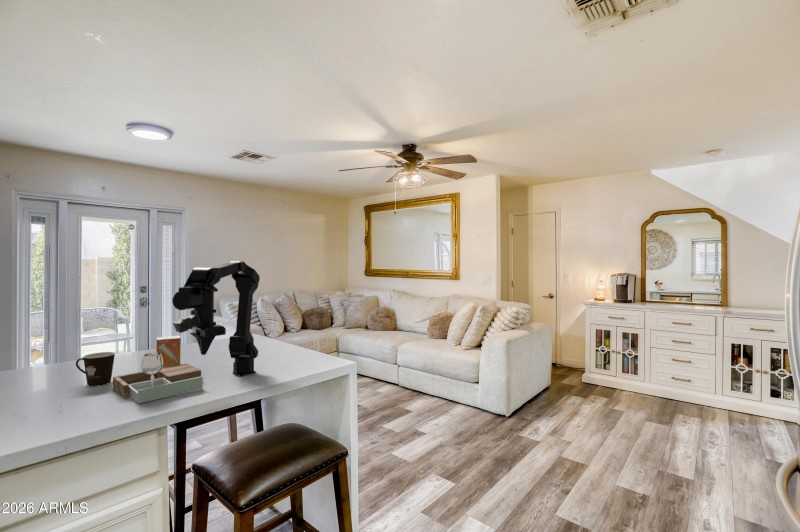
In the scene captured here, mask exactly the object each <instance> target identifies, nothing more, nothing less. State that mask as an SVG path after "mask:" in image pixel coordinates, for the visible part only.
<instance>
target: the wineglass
mask: <svg viewBox="0 0 800 532" xmlns="http://www.w3.org/2000/svg"><path fill="white" fill-rule="evenodd" d="M162 367H163V358H162V355H161V353H156V352H149V353H145V354H143V358H142V359H141V370H142V371H143V372H144V373H146V374H151V383H152V384H151V387H153V380H154V375H153V374H156V373H158V372H159V371H161V369H162ZM142 371H141V372H142Z"/></svg>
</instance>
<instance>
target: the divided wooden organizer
mask: <svg viewBox="0 0 800 532" xmlns="http://www.w3.org/2000/svg"><path fill="white" fill-rule="evenodd" d="M153 375H154V379H159V378H165V379H167V380H168V381H170V382H177V381H182V380H186V379H191V378H196V377H200V376H202V370H201V369H200V368H197V367H195V366H194V365H191V364H189V363H183V364H181V363H180V365H175V366H170V367H164V368H162V369H161V371H159V372H158V373H156V374H153ZM149 380H151V374H146V373H144V372H143V371H139V372H132V373H127V374H122V375H117V376H115V375H114V376H112V389H113V390H114V389H115V390H116V391H117V392H118V393H119V394H120V395H119V396H120V397H122V399H127V398H126V397H128V398H129V397H130V396H129V384H134V383H139V382H144V381H149ZM115 390H114V391H115ZM116 391H115V392H116ZM117 392H116V393H117ZM118 393H117V394H118Z"/></svg>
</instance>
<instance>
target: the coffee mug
mask: <svg viewBox="0 0 800 532" xmlns="http://www.w3.org/2000/svg"><path fill="white" fill-rule="evenodd" d="M115 353H116V352H113V351H101V352H100V351H99V352H94V353H89V354H85V355H83V356H82V358H78V359H77V360H76V361H75V367H76V368H77V369H78V370H79V371H80V372H82V373H83V374H84V375H85V379H86V385H89V386H88V387H98V386H97V385H101V386H104V385H103V384H105V385H108V384H110V383H111V382H112V378H113V369H114V364H115V363H114V362H115V356H116V354H115ZM80 361H83V365H84V366H83V367H84V369H82V368H81V367H80V365H79V362H80ZM107 383H108V384H107Z"/></svg>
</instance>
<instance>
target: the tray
mask: <svg viewBox="0 0 800 532" xmlns="http://www.w3.org/2000/svg"><path fill="white" fill-rule="evenodd" d="M203 378H204V376H203V375H201V376H200V377H196V378H191V379H186V380H182V381H177V382H170V381H168V380H167V379H165V378H159V379H154V380H153V387H151V384H152V383H151V380H149V381H144V382H139V383H134V384H129V397H130V398H131V399H132V400H134V401H135V402H136V403H138V404H143V403H147V402H151V401H155V400H159V399H160V400H161V399H163V398H167V397H173V396H176V395H181V394H184V393H185V394H186V393H190V392H194V391H198V390H203V388H204V387H203V386H204V385H203V383H204V382H203Z"/></svg>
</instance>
